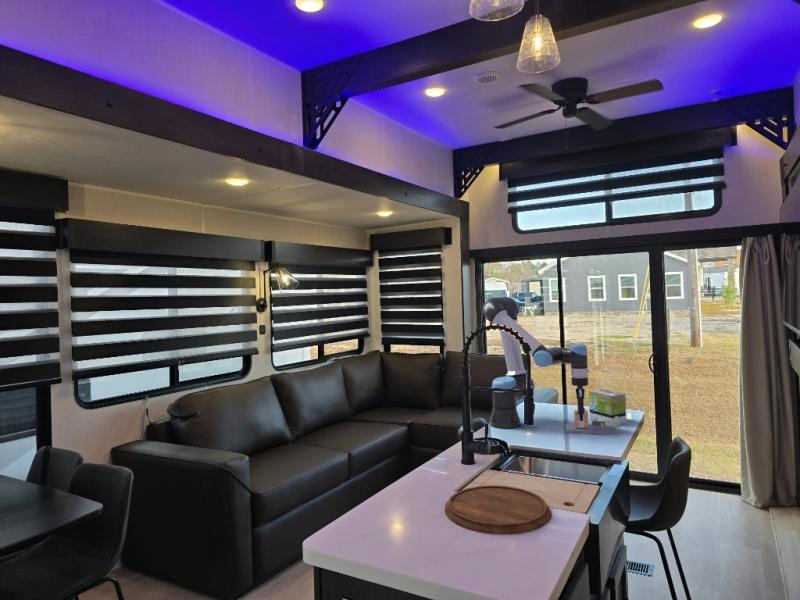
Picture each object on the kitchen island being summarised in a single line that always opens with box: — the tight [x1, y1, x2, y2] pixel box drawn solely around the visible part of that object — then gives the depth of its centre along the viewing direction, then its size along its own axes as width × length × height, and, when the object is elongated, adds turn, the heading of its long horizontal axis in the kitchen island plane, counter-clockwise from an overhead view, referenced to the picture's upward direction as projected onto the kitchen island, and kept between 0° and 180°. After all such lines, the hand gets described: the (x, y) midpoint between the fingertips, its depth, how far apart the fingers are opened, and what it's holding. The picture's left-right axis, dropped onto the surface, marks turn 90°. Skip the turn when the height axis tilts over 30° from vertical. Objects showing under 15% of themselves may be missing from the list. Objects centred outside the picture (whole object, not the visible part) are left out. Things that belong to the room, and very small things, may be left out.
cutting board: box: [444, 485, 552, 535], centre depth 159 cm, size 32×32×2 cm
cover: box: [604, 416, 621, 428], centre depth 242 cm, size 6×9×3 cm
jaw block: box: [573, 409, 589, 428], centre depth 246 cm, size 6×6×7 cm
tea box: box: [588, 388, 627, 425], centre depth 261 cm, size 15×10×15 cm
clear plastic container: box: [565, 420, 618, 436], centre depth 245 cm, size 22×12×6 cm, turn 72°
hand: (581, 425), depth 246 cm, fingers closed on jaw block, 6 cm apart
